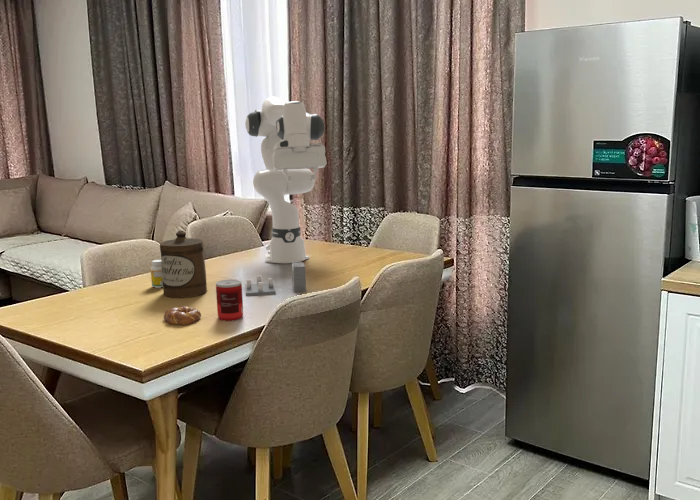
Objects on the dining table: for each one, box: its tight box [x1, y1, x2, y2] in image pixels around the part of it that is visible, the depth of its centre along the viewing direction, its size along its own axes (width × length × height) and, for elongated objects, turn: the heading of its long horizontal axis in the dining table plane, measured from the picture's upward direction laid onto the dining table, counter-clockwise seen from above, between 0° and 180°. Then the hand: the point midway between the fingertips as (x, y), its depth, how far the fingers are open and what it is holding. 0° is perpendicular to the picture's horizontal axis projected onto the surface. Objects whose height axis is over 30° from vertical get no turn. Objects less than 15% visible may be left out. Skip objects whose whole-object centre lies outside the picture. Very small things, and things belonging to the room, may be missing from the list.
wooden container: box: [159, 230, 208, 299], centre depth 237 cm, size 15×15×22 cm
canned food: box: [215, 278, 244, 322], centre depth 206 cm, size 8×8×11 cm
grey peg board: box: [244, 275, 277, 297], centre depth 239 cm, size 13×10×4 cm
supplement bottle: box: [150, 259, 163, 289], centre depth 248 cm, size 5×5×10 cm
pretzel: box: [163, 305, 202, 326], centre depth 206 cm, size 12×11×4 cm
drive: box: [291, 261, 307, 293], centre depth 239 cm, size 7×4×9 cm, turn 10°
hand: (301, 180), depth 254 cm, fingers open, 8 cm apart
